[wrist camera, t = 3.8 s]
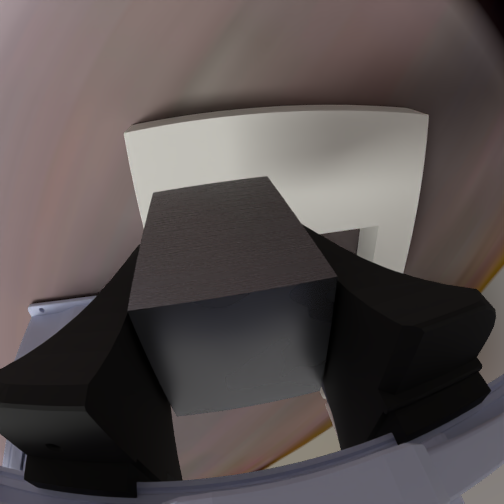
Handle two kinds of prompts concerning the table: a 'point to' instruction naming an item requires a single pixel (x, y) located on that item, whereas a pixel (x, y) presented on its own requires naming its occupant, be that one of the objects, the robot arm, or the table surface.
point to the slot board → (299, 165)
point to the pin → (231, 297)
